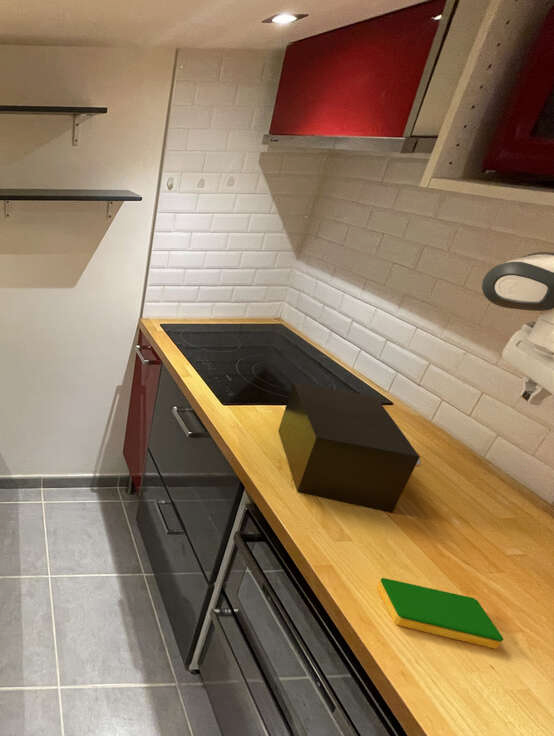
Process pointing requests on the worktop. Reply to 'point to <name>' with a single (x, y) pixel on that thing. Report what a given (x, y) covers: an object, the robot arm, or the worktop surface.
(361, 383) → the worktop surface
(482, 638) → the dish sponge
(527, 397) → the robot arm
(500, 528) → the worktop surface
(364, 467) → the black box
